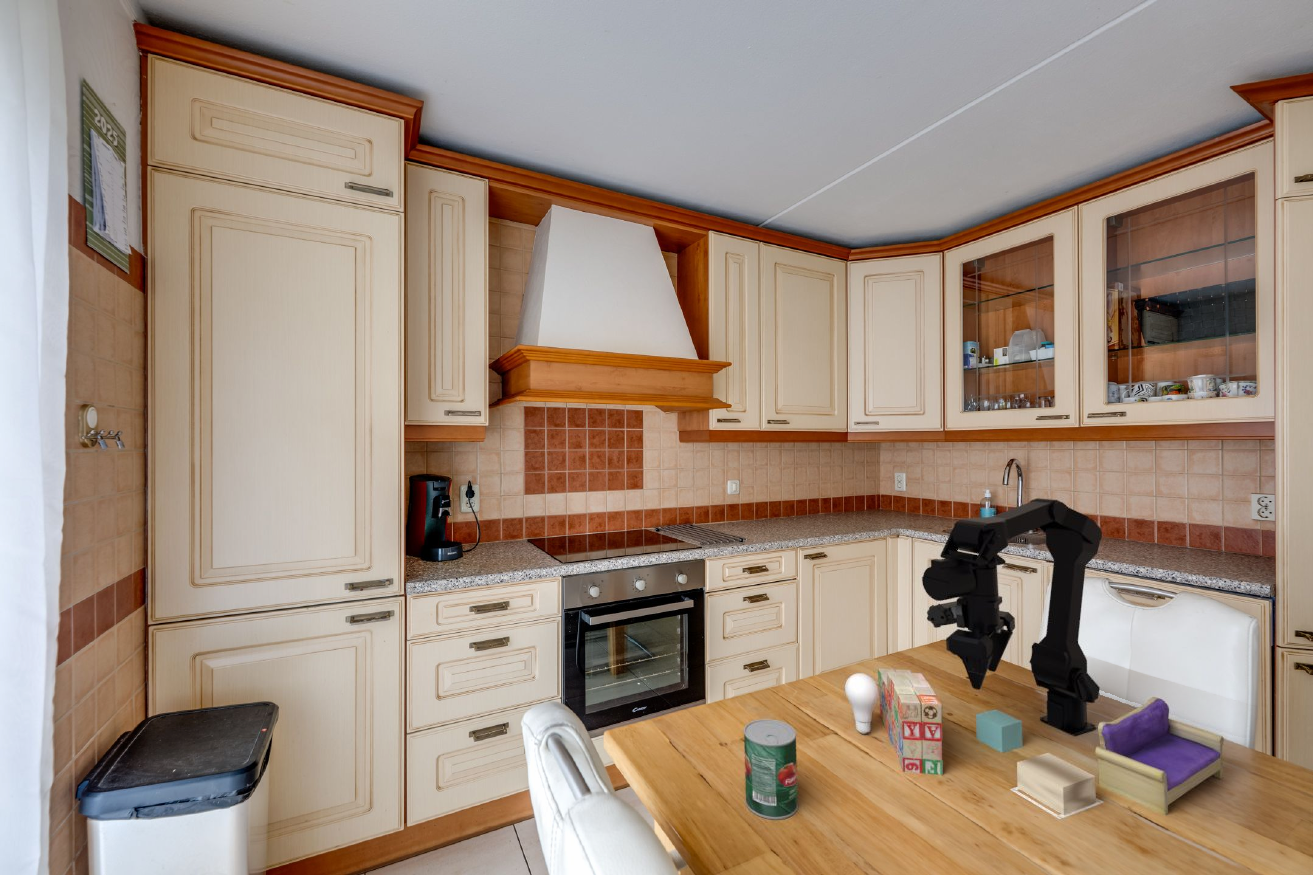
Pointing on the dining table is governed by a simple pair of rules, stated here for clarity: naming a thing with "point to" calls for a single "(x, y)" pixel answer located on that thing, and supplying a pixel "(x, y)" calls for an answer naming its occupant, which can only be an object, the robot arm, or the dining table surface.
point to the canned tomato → (770, 768)
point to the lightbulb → (862, 699)
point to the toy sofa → (1155, 756)
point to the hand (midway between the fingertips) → (984, 679)
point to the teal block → (999, 730)
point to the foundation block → (1056, 783)
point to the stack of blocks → (912, 720)
